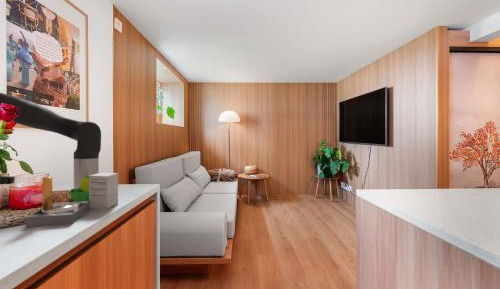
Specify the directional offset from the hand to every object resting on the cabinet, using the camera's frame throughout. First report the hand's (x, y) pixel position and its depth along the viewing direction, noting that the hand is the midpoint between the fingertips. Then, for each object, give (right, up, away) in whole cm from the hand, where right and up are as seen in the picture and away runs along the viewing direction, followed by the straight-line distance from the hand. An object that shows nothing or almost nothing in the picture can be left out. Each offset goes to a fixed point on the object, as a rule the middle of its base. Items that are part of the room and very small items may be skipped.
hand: (12, 180), depth 75 cm
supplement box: (+16, -13, +21) cm, 29 cm away
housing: (+9, -13, +7) cm, 18 cm away
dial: (+9, -12, +7) cm, 17 cm away
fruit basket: (+6, -13, +26) cm, 29 cm away
